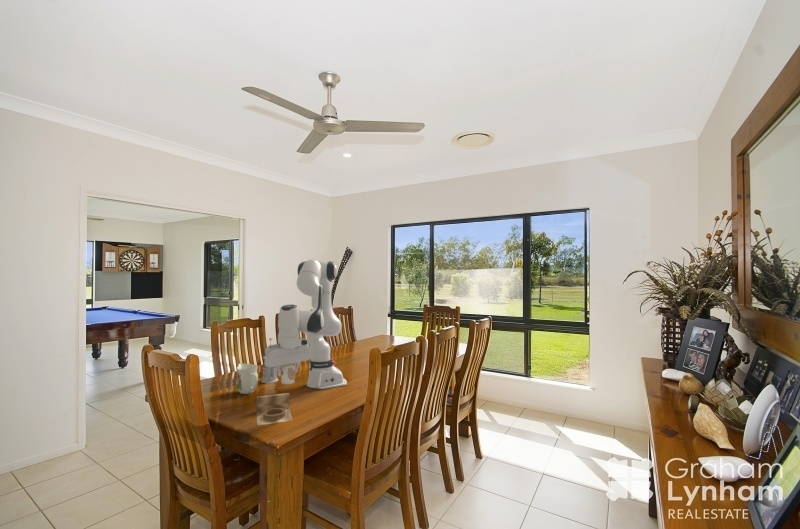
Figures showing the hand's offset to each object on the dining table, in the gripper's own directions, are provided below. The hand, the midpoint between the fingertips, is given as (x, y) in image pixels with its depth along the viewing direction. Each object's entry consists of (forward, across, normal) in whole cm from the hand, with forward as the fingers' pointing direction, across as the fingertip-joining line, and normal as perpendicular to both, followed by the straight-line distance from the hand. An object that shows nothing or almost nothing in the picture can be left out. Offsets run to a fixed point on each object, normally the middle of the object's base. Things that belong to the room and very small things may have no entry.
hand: (287, 373), depth 155 cm
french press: (+20, +20, +57) cm, 63 cm away
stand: (+20, -4, +3) cm, 20 cm away
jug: (+4, 0, -2) cm, 4 cm away
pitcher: (+20, +2, +46) cm, 50 cm away
